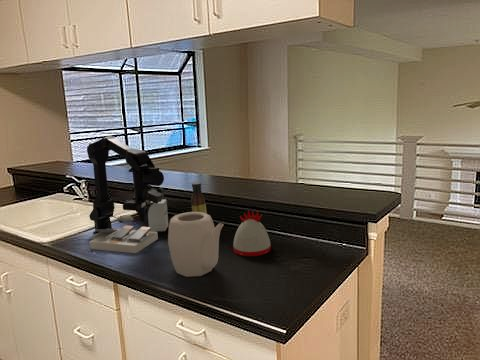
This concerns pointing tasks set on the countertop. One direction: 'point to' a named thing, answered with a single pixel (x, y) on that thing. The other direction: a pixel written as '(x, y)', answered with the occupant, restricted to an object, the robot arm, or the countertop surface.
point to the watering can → (193, 243)
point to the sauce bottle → (198, 199)
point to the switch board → (121, 242)
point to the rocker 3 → (140, 233)
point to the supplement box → (158, 216)
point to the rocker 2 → (123, 232)
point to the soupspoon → (126, 218)
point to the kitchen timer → (251, 237)
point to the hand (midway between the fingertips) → (144, 221)
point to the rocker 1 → (106, 231)
